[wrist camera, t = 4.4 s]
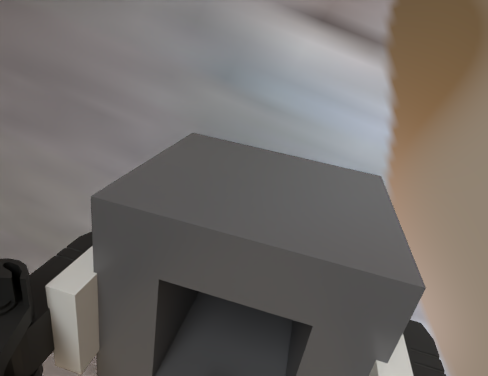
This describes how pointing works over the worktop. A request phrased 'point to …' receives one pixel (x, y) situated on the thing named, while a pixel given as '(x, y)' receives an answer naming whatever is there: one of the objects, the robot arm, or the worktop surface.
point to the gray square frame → (248, 266)
